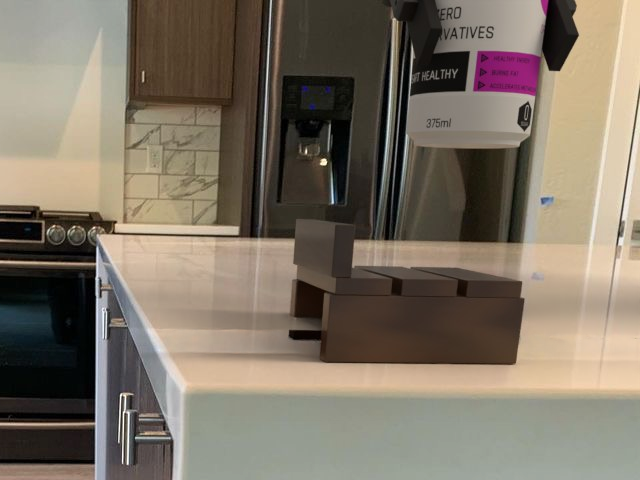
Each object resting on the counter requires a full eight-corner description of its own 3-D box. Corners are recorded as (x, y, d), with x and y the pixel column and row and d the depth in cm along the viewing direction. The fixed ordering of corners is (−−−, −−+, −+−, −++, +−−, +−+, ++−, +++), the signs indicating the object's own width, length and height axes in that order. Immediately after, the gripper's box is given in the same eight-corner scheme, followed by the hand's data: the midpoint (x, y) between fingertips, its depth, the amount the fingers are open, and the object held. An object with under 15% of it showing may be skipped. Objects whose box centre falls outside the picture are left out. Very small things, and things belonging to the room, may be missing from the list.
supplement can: (527, 149, 68) (559, -87, 64) (529, 143, 61) (565, -125, 56) (411, 148, 71) (434, -80, 66) (399, 142, 63) (424, -115, 59)
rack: (453, 339, 68) (466, 223, 65) (516, 364, 58) (534, 229, 56) (288, 337, 67) (295, 218, 64) (324, 362, 57) (335, 224, 55)
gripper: (547, -96, 75) (623, 104, 65) (287, -111, 74) (322, 92, 63) (593, -199, 69) (686, 4, 58) (308, -219, 67) (351, -12, 56)
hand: (497, 50), depth 61 cm, fingers closed on supplement can, 8 cm apart
